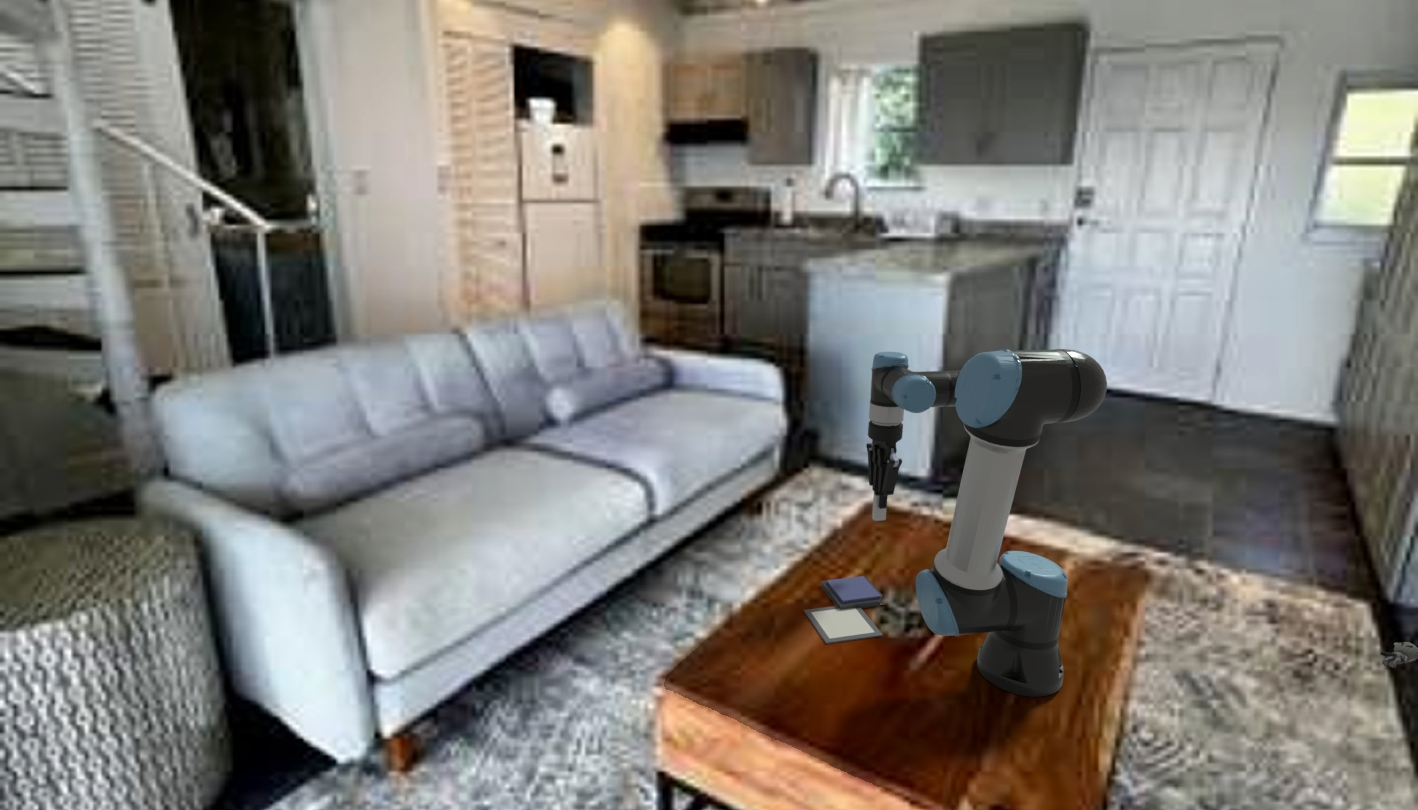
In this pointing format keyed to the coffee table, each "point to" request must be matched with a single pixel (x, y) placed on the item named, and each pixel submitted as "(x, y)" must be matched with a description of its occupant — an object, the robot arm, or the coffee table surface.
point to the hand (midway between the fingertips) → (878, 519)
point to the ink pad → (852, 592)
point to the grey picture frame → (842, 624)
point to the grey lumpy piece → (1400, 654)
